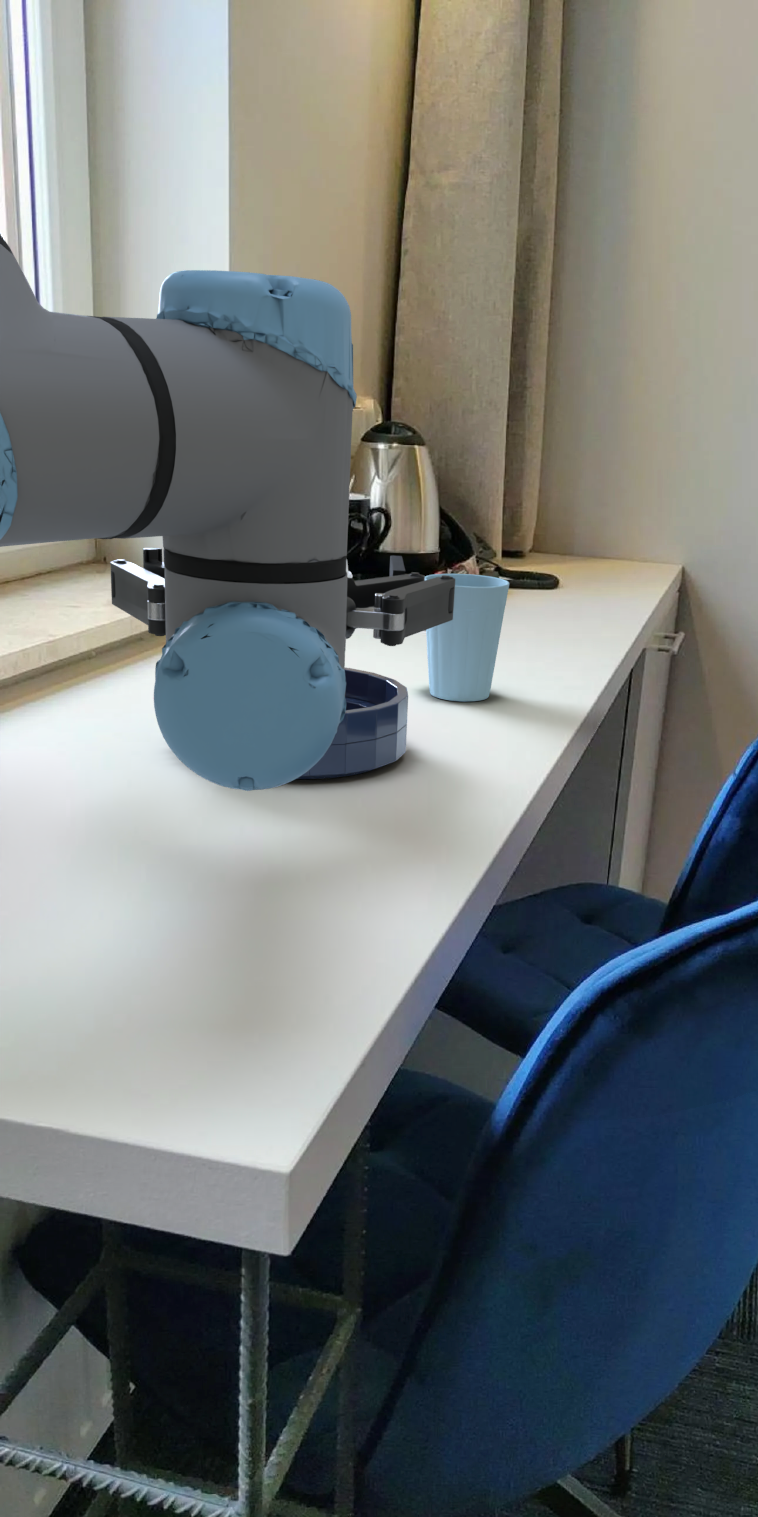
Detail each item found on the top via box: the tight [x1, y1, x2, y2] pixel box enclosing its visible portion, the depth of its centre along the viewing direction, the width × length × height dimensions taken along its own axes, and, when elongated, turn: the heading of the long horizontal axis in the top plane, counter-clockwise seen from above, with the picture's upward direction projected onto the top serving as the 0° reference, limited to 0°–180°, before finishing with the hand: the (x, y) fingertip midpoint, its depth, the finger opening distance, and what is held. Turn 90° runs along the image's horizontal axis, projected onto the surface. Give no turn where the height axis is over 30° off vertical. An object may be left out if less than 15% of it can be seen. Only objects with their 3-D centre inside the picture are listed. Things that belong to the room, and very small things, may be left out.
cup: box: [424, 573, 510, 702], centre depth 117 cm, size 8×8×10 cm
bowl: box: [295, 667, 409, 780], centre depth 97 cm, size 17×17×5 cm
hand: (290, 571), depth 84 cm, fingers open, 13 cm apart
